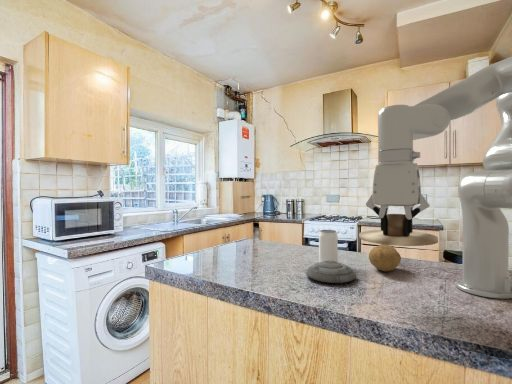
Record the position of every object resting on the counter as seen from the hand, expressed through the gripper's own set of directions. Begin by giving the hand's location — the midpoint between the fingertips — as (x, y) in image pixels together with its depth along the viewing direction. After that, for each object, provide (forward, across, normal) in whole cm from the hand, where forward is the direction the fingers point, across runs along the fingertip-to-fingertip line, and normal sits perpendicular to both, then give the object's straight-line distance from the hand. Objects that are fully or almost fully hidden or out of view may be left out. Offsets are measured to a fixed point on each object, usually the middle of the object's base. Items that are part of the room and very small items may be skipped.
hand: (396, 234), depth 70 cm
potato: (+17, +9, -26) cm, 32 cm away
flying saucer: (+17, +20, -8) cm, 27 cm away
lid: (+1, 0, 0) cm, 1 cm away
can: (+16, +27, -22) cm, 39 cm away
